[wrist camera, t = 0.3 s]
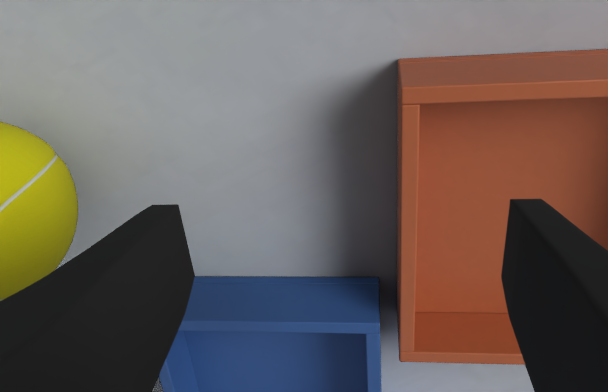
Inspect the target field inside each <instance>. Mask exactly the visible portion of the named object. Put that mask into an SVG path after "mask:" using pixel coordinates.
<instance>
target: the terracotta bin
mask: <svg viewBox="0 0 608 392" xmlns="http://www.w3.org/2000/svg"><path fill="white" fill-rule="evenodd" d="M510 199H542V200H544V201H545V202H546V203H548V204H549V205H550V206H552V207H553V208H554V209H555V210H557V211H558V212H559V213H560V214H562V215H563V216H564V217H565V218H567V219H568V220H569V221H570V222H572V223H573V224H574V225H575V226H577V227H578V228H579V229H580V230H582V231H583V232H584V233H585V234H587V235H588V236H589V237H591V238H592V239H593V240H594V241H596V242H597V243H598V244H600V245H601V246H602V247H604V248H605V249H606V250H608V49H596V50H575V51H555V52H534V53H513V54H492V55H471V56H450V57H429V58H408V59H398V167H397V322H398V341H399V360H400V361H401V362H437V363H481V364H524V365H525V362H524V360H523V357H522V354H521V351H520V348H519V345H518V342H517V340H516V337H515V334H514V331H513V328H512V325H511V322H510V319H509V315H508V310H507V305H506V300H505V295H504V290H503V285H502V279H501V273H502V264H503V256H504V248H505V239H506V231H507V222H508V214H509V205H510Z"/></svg>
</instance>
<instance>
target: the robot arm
mask: <svg viewBox="0 0 608 392" xmlns="http://www.w3.org/2000/svg"><path fill="white" fill-rule="evenodd" d="M194 278H195V275H194V271H193V266H192V262H191V258H190V254H189V249H188V245H187V241H186V236H185V232H184V228H183V223H182V219H181V215H180V210H179V206H178V205H152V206H150V207H148V208H146V209H145V210H143V211H142V212H140V213H139V214H137V215H135V216H134V217H133V218H131V219H130V220H128V221H127V222H125V223H124V224H123V225H121V226H120V227H118V228H117V229H115V230H114V231H113V232H111V233H110V234H108V235H107V236H106V237H104V238H103V239H101V240H100V241H98V242H97V243H96V244H94V245H93V246H91V247H90V248H88V249H87V250H85V251H84V252H82V253H81V254H79V255H78V256H76V257H75V258H73V259H72V260H70V261H68V262H67V263H65V264H64V265H62V266H61V267H59V268H58V269H56V270H55V271H53V272H51V273H50V274H48V275H47V276H45V277H43V278H42V279H40V280H38V281H37V282H35V283H33V284H31V285H30V286H28V287H26V288H24V289H22V290H20V291H19V292H17V293H15V294H13V295H11V296H9V297H7V298H5V299H4V300H2V301H0V392H152V390H153V388H154V386H155V383H156V381H157V379H158V376H159V374H160V372H161V369H162V367H163V365H164V362H165V360H166V358H167V355H168V353H169V351H170V349H171V346H172V344H173V342H174V339H175V337H176V334H177V332H178V330H179V327H180V325H181V322H182V320H183V318H184V315H185V312H186V308H187V305H188V301H189V298H190V294H191V290H192V286H193V282H194ZM501 279H502V285H503V290H504V295H505V300H506V305H507V310H508V315H509V319H510V322H511V325H512V328H513V331H514V334H515V337H516V340H517V342H518V345H519V348H520V351H521V354H522V357H523V360H524V362H525V365H526V368H527V371H528V374H529V377H530V380H531V382H532V385H533V388H534V391H535V392H608V250H606V249H605V248H604V247H602V246H601V245H600V244H598V243H597V242H596V241H594V240H593V239H592V238H591V237H589V236H588V235H587V234H585V233H584V232H583V231H582V230H580V229H579V228H578V227H577V226H575V225H574V224H573V223H572V222H570V221H569V220H568V219H567V218H565V217H564V216H563V215H562V214H560V213H559V212H558V211H557V210H555V209H554V208H553V207H552V206H550V205H549V204H548V203H546V202H545V201H544V200H542V199H510V205H509V214H508V222H507V231H506V239H505V248H504V256H503V264H502V273H501Z"/></svg>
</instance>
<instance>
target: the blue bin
mask: <svg viewBox="0 0 608 392" xmlns="http://www.w3.org/2000/svg"><path fill="white" fill-rule="evenodd" d="M159 379H160V382H161V385H162V389H163V392H381V350H380V294H379V277H195V278H194V282H193V286H192V290H191V294H190V298H189V301H188V305H187V308H186V312H185V315H184V318H183V320H182V322H181V325H180V327H179V330H178V332H177V334H176V337H175V339H174V342H173V344H172V346H171V349H170V351H169V353H168V355H167V358H166V360H165V362H164V365H163V367H162V369H161V372H160V374H159Z"/></svg>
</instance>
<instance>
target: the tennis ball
mask: <svg viewBox="0 0 608 392" xmlns="http://www.w3.org/2000/svg"><path fill="white" fill-rule="evenodd" d="M77 217H78V201H77V194H76V189H75V185H74V182H73V180H72V177H71V174H70V172H69V170H68V168H67V167H66V165H65V163H64V162H63V160H62V159H61V158H60V157H59V156H58V155H57V154H55V152H54V150H53V149H52V147H51V146H50V145H49V144H47V143H46V142H45V141H43V140H42V139H40V138H39V137H37V136H35V135H33V134H32V133H30V132H27V131H25V130H23V129H21V128H18V127H16V126H13V125H10V124H6V123H3V122H0V301H2V300H4V299H5V298H7V297H9V296H11V295H13V294H15V293H17V292H19V291H20V290H22V289H24V288H26V287H28V286H30V285H31V284H33V283H35V282H37V281H38V280H40V279H42V278H43V277H45V276H47V275H48V274H50V273H51V272H53V271H54V270H55V269H56V268H57V267H58V265H59V264H60V262H61V261H62V259H63V258H64V256H65V255H66V253H67V251H68V249H69V247H70V245H71V243H72V240H73V237H74V234H75V230H76V225H77Z"/></svg>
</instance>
